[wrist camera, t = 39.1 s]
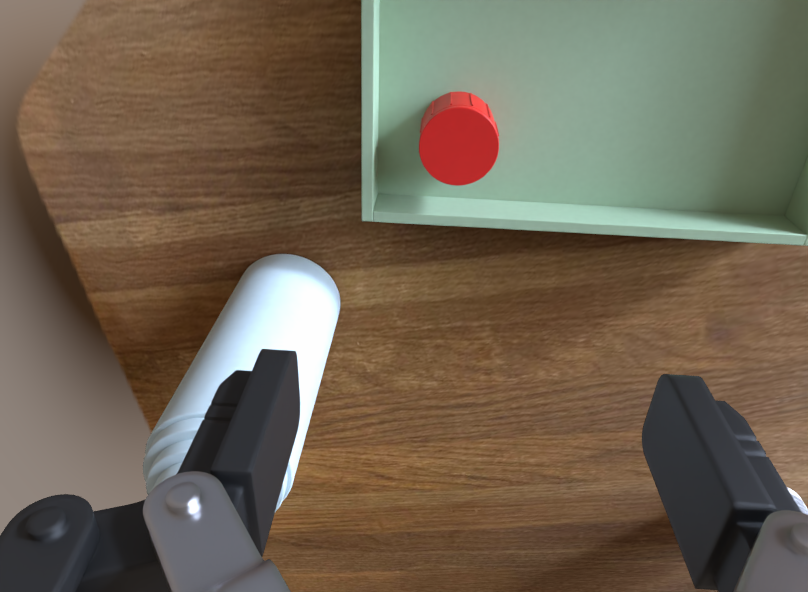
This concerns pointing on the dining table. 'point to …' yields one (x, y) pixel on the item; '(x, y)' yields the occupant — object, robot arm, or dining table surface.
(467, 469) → the dining table surface
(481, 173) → the cap
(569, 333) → the dining table surface
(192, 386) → the bottle
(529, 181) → the tray
